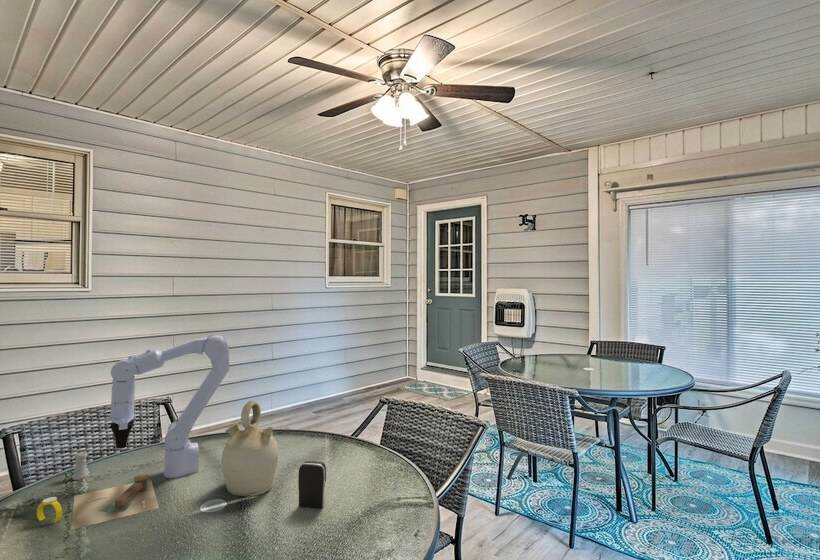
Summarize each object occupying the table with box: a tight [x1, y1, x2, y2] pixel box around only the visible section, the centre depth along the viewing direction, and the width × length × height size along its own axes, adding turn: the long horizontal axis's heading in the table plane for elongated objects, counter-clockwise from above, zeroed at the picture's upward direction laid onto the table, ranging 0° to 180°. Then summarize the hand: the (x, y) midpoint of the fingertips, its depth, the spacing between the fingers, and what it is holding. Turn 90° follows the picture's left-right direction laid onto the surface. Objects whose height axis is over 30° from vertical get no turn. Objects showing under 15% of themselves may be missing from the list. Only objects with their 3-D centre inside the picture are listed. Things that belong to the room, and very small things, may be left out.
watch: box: [36, 496, 63, 524], centre depth 107 cm, size 6×3×6 cm, turn 80°
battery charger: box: [297, 460, 327, 509], centre depth 118 cm, size 7×4×11 cm, turn 84°
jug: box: [221, 400, 279, 499], centre depth 127 cm, size 15×16×25 cm
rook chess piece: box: [71, 451, 90, 481], centre depth 131 cm, size 4×4×8 cm
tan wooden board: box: [70, 479, 160, 531], centre depth 116 cm, size 18×20×1 cm
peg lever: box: [115, 474, 149, 508], centre depth 118 cm, size 14×3×4 cm, turn 8°
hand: (120, 447), depth 129 cm, fingers closed
